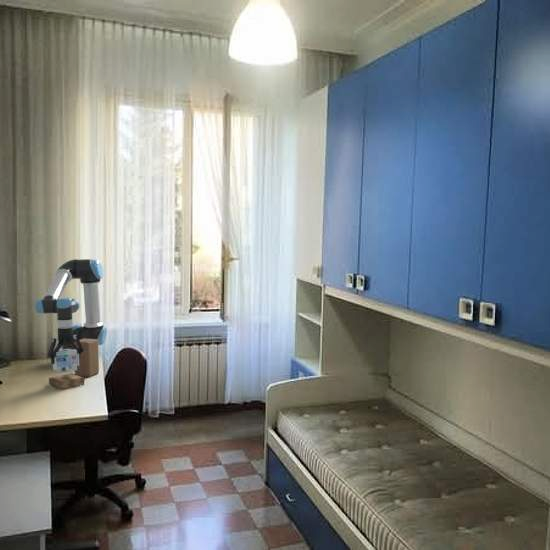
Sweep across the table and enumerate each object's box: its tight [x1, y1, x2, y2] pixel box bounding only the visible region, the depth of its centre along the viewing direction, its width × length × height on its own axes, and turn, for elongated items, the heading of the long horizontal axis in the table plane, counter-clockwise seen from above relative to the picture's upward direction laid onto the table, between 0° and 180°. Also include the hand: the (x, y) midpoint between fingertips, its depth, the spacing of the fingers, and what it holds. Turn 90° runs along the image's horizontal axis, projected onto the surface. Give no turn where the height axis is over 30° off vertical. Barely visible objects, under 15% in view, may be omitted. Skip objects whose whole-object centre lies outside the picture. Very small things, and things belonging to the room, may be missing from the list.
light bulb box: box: [55, 348, 77, 373], centre depth 300 cm, size 11×7×11 cm, turn 117°
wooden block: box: [74, 338, 100, 378], centre depth 322 cm, size 10×10×20 cm
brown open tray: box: [48, 372, 85, 391], centre depth 301 cm, size 13×13×4 cm
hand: (66, 367), depth 301 cm, fingers closed on light bulb box, 12 cm apart
